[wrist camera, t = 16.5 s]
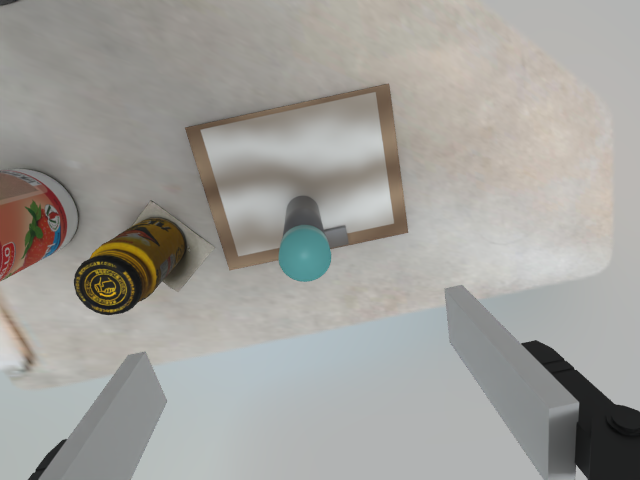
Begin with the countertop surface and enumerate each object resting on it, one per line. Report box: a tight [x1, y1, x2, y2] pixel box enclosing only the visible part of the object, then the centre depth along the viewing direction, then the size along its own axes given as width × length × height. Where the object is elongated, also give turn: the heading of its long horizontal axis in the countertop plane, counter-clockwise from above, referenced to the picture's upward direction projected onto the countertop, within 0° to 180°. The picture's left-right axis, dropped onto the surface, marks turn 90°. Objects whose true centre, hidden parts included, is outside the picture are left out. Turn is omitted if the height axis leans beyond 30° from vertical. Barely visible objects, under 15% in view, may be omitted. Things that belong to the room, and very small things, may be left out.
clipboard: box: [185, 84, 408, 270], centre depth 38 cm, size 16×21×2 cm
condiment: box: [74, 201, 215, 315], centre depth 35 cm, size 7×8×12 cm
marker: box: [279, 196, 331, 282], centre depth 32 cm, size 4×4×14 cm
